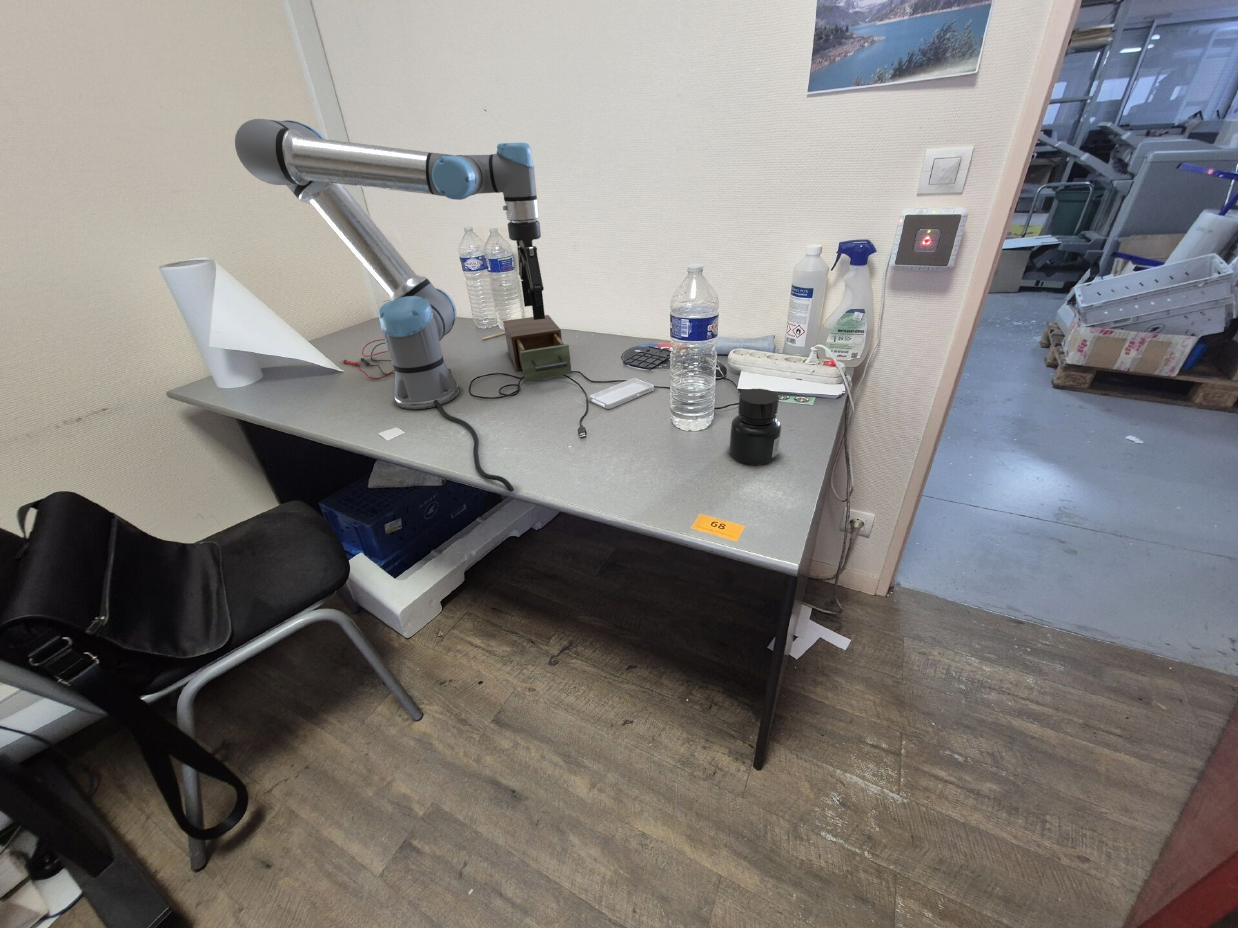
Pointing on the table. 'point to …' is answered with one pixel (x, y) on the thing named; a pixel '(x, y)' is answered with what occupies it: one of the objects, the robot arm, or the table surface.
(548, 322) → the cabinet
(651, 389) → the phone case
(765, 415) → the ink bottle
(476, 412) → the table surface
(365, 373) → the multimeter test leads
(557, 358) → the drawer
